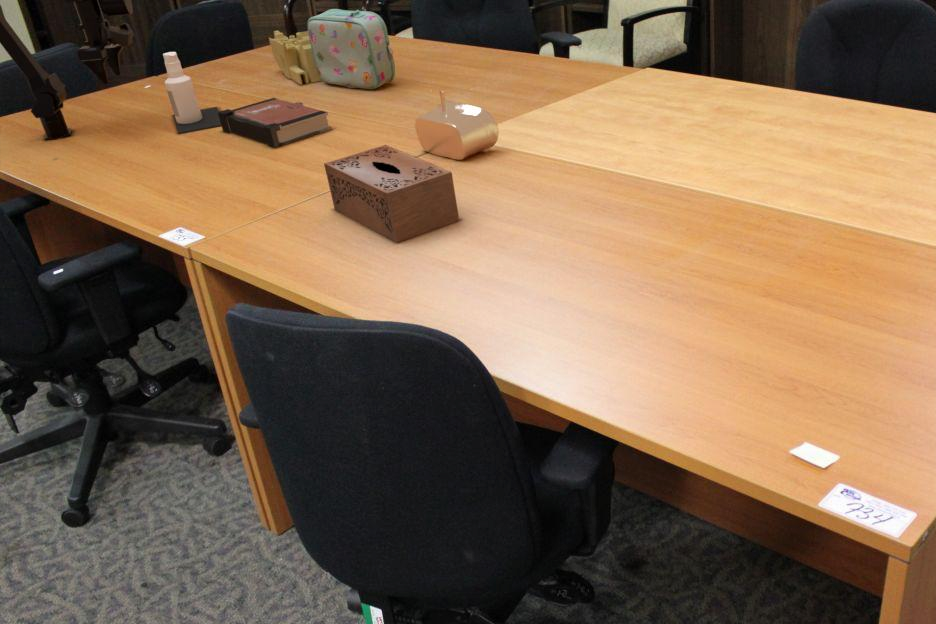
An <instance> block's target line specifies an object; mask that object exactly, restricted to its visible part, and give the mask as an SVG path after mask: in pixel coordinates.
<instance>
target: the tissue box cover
mask: <svg viewBox="0 0 936 624" xmlns="http://www.w3.org/2000/svg"><path fill="white" fill-rule="evenodd" d="M323 165H324V170H325V173H326V177H327V178H326V179H327V182H328V187H329V191H330V195H331V199H332V205H333V209H334V211H337V212H338V213H341V214H342V215H344V216H346V217H348V218H350V219H352V220H353V221H355V222H357V223H358V224H360V225H362V226H364V227H366V228H368V229H370V230H372V231H373V232H376V233H378V234H380V235H381V236H382V237H385V238H387V239H389V240H391V241H392V242H394V243H396V244H398V243H401V242H403V241H406V240H408V239H412V238H414V237H417V236H420V235H422V234H426V233H428V232H430V231H434V230H436V229H438V228H439V229H440V228H442V227H446V226H447V225H450V224H453V223H456V222H458V221H460V215H459V209H458V203H457V197H456V191H455V185H454V178H453V173H452V171H450V170H448V169H446V168H444V167H440V166H438V165H435V164H433V163H431V162H429V161H426V160H424V159H421V158H419V157H416V156H414V155H411V154H409V153H406V152H404V151H402V150H399V149H397V148H394V147H392V146H389V145H387V144H384V145H381V146H378V147H374V148H370V149H366V150H363V151H361V152H358V153H354V154H351V155H347V156H344V157H341V158H338V159H334V160H331V161H327V162H324V163H323Z"/></svg>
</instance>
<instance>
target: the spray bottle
mask: <svg viewBox="0 0 936 624" xmlns="http://www.w3.org/2000/svg"><path fill="white" fill-rule="evenodd" d="M162 56H163V60H164V66H165V69H166V73H167V74H166V75H167V78H166V79H165V80H164V86H165V89H166V93H167V95H168V99H169V102H170V106H171V108H172V112H173V115H175V118H176V121H177V123H179V124H190V123H195V122H198V121H200V120H201V119H202V115H201V111H200V110H201V109H200V108H201V107H200V105H199V101H198V98H197V95H196V91H195V87H194V85H193V81H192V78H191V77H190V76H188V75H185V73H184V69H183V68H182V63H181V61H180V59H179V57H178V54H177V52H176V51H168V52H165V53H162Z"/></svg>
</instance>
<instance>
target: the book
mask: <svg viewBox="0 0 936 624" xmlns="http://www.w3.org/2000/svg"><path fill="white" fill-rule="evenodd" d="M218 116H219V119H220V123H221V126H220V127H221V129H222V132H225V133H228V134H230V133H232V134H234V135H238V136H241V137H243V138H245V139H246V138H247V139H250V140H252V141H256V142H258V143H262V144H265V145H267V146H268V147H271V148H274V149H276V148H280V147H283V146H286V145H289V144H292V143H295V142H298V141H302V140H304V139H307V138H311V137H314V136H317V135H319V134H323V133H327V132H329V131H332V126H329V122H328V117H327V116H329V112H328V111H324V110H322V109H317V108H313V107H311V106H310V107H309V106H306V105H304V103H303V102H301V101H300V102H297V101H296V102H292V101H287V100H283V99H280V98H276V97H271V98H269V99H264V100H261V101H259V102H255V103H254V102H253V103H251V104H248V105H244V106H241V107H237V108H233V109H229V108H227V109H224V110H221V111H219V112H218Z"/></svg>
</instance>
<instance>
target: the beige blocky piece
mask: <svg viewBox="0 0 936 624" xmlns="http://www.w3.org/2000/svg"><path fill="white" fill-rule="evenodd" d="M295 35H296V36H295ZM295 35H294V34H291V35H289V37H287V36H286V35H284V33H283V32H280V30H274V31H273V36H274V38H272V37H268V41H269V45H270V48H271V49H270V50H271V52H272V56H273V58H274V60H275V62H276V65H277V66H278V68H279V69H280V70H281V71H282V73H283V74H284V76H285V77H286V78H287V79H289V80H293V81H294V82H296V83H297V84H298V85H300V86H301V85H303V83H305V84H309V82H310V83H317V82H322V81H323V80H322V79H321V78H320V76H319V74H318V71H317V68H316V65H315V61H314V57H313V53H312V48H311V43H310V39H309V33H308V30H305V31H301V32H300V31H299V32H296V33H295ZM323 82H324V81H323Z"/></svg>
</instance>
